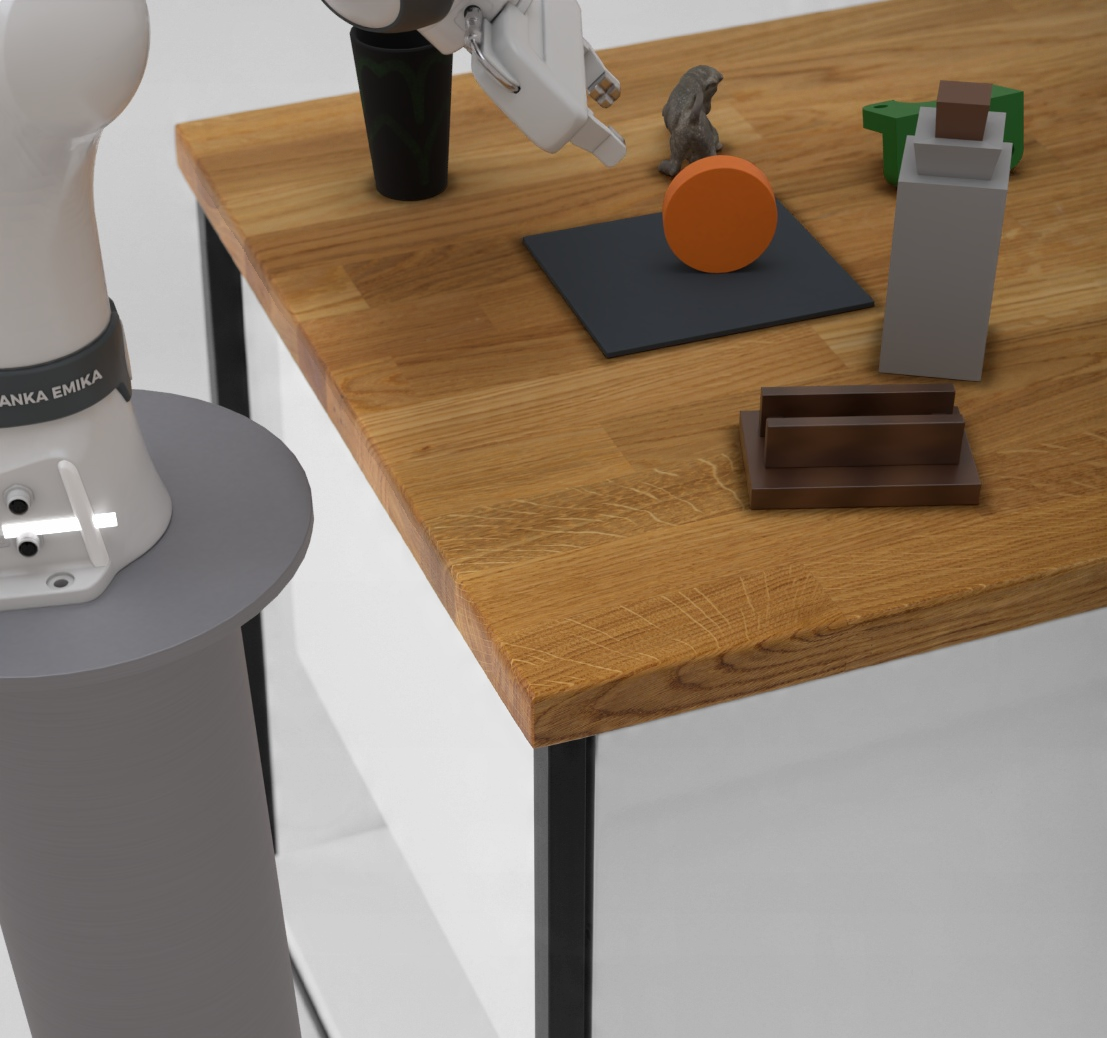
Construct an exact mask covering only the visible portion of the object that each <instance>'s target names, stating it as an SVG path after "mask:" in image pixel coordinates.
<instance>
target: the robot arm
mask: <svg viewBox="0 0 1107 1038" xmlns="http://www.w3.org/2000/svg"><path fill="white" fill-rule="evenodd" d="M320 1H321V2H322V3H323V5H325V7H326V8H328V9H329V11H330V12H332V13H333V14H334V15H335V16H337V17H338V18H339V19H340V20H342V21H344V22H345V23H347V24H348V25H350V26H352V27H353V26H354V27H357V28H359V29H362V30H366V31H371V32H379V33H400V32H407V31H412V30H417V31H419V32H420V33H421V34H422V35H423V36H424V37H425V38H426V39H427V40H428V41H429V42H430V43H431V44H432V45H433V46H434V47H435V48H437V49H438V50H439V51H440V52H441V53H442V54H445V55H449V54H452V53H453V54H455V53H456V52H458V51H460V50H461V49H463V48H464V49H465V50H466V51H467V52H468V53H469V54H470V57H471V58H470V69H471V72H472V75H473V76H472V77H473V78H474V80H475V81H476V82H477V84H478V85H479V87H480V88H481V90H482V91H483V92H484V94H485V95H486V96H487V97H488V98H489V99H490V100H491V102H492V103H493V104H494V105H496V107H498V109H499V110H500V111H501V112H502V113H503V114H504V115H505V116H506V117H507V118H508V119H509V120H510V122H512V123H513V124H514V126H516V128H518V129H519V130H520V131H521V132H522V133H523V135H525V136H526V138H528V140H529V141H531V142H532V144H534V145H535V146H536V147H537V148H539V149H540V150H542V151H544V152H546V153H548V154H552V155H554V154H557V153H558V152H560V150H561V149H563V148H564V147H565V146H566V145H567V144H568V143H570V144H572V145H573V146H575V147H578V148H580V149H582V150H584V151H586V152H588V153H590V154H592V155H593V156H594V157H596V158H597V160H598V161H599V162H600V163H602V164H603V165H604V166H605V167H607V168H614V167H615V166H616V165H618V163H620V161H622V160H623V159H624V158H625V157H626V155H627V151H628V149H627V144H626V139H625V138H624V137H623V136H622V135H621V134H620V133H618V131H617V130H616V129H615V128H614V127H613V126H612V125H610V124H609V125H608V126H607V125H606V124H604V123H603V122H602V121H601V120H599V118H598V117H596V116H595V113H594V111H593V110H592V109H591V108H590V107H588V96H589V97H590V98H591V99H593V101H595V102H596V103H597V104H598V105H599V106H600V107H601V108H603V109H609V108H610V107H611V106H612V105H613V104H614V103H615V102H616V101H617V100H619V98H620V97H621V93H622V92H621V91H622V89H621V83H620V80H619V79H617V77H615V75H614V74H612V72H610V70H608V69H607V67H606V66H605V64H604V62H603V61H602V60H601V59H600V57H599V55H598V54H597V52H596V51H595V50H594V48H593V47H592V45H591V44H590V42H589V41H588V40H587V39H586V38H585V37H584V34H583V20H582V8H581V5H580V4H579V2H578V0H320ZM149 12H150V11H149V8H148V4H147V0H0V612H1V611H11V610H22V609H32V608H42V607H53V606H63V605H73V604H82V603H87V602H90V601H93V600H95V599H96V598H98V597H99V596H100V595H101V594H102V593H103V592H104V591H105V590H106V588H107V587H108V586H109V584H110V583H111V581H112V580H113V578H114V577H115V575H116V574H117V573H118V572H119V571H120V570H121V569H123V568H124V567H125V566H127V565H128V564H130V563H131V562H133V561H134V560H136V559H137V558H139V557H140V556H142V555H143V554H144V553H146V552H147V551H148V550H149V549H150V548H151V547H152V546H153V545H155V544H156V542H157V541H158V540H159V539H160V538H161V537H162V535H163V534H164V532H165V531H166V529H167V527H168V525H169V523H170V520H171V516H172V501H171V497H170V495H169V492H168V491H167V489H166V487H165V485H164V484H163V482H162V480H161V478H160V476H159V474H158V472H157V470H156V469H155V466H154V464H153V462H152V459H151V457H150V455H149V452H148V450H147V447H146V444H145V442H144V439H143V436H142V434H141V431H140V428H139V425H138V422H137V418H136V415H135V412H134V409H133V406H132V402H131V397H132V389H133V386H132V381H133V373H132V366H131V360H130V354H129V349H128V344H127V343H128V342H127V338H126V334H125V333H126V332H125V328H124V324H123V321H122V319H121V318H120V315H119V313H118V310H117V308H116V307H117V306H116V304H115V302H114V300H113V299H112V298H111V297H110V296H109V292H108V286H107V280H106V273H105V267H104V260H103V255H102V254H103V253H102V247H101V242H100V236H99V228H98V222H97V217H96V207H95V194H94V192H95V191H94V190H95V189H94V188H95V187H94V181H95V166H96V160H97V155H98V150H99V149H98V148H99V144H100V140H101V137H102V133H103V131H104V129H105V128H107V127H108V126H109V125H111V124H112V123H113V122H114V121H116V119H118V118H119V116H120V115H121V114H123V112H124V111H125V110H126V109H127V107H128V106H129V104H130V103H131V102H132V100H133V98H134V97H135V95H136V93H137V92H138V89H139V87H140V85H141V83H142V80H143V78H144V75H145V72H146V69H147V65H148V61H149V56H150V48H151V33H152V32H151V20H150V13H149ZM587 95H588V96H587Z"/></svg>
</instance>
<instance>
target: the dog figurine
mask: <svg viewBox="0 0 1107 1038" xmlns="http://www.w3.org/2000/svg"><path fill="white" fill-rule="evenodd" d="M723 80H724V75H723V73H721V72H719V71H718V69H717V68H715V67H713V66H710V65H705V64H700V65H696V66H693V67H691V68H690V69H688V70H687V71H686V72H685V73H683V75H682V76H681V77H680V78H679V82H678V83H677V84H675V86H674V88H673V89H672V90H671V92H670V94H669V96H668V98H667V101H666V103H665V104H664V105H663V107H662V109H661V110H662V111H661V116H662V117H663V122H664V125H665V128H666V129H667V131H668V132H669V135H670V137H669V140H668V142H669V149H670V150H669V151H670V157H669V159H663V160H662V161H661V162H659V164H658V166H657V170H658V171H659V172H661V173H664V174H665V175H666V176H668V175H669V176H671V177H674V176H677V175H678V173H679V172H680V171H681V168H682V165H683V163H684V162H685V161H687V162H688V165H690V164H691V163H693V162H695V161H697V160H700V159H703V158H706V157H710V156H717V155H718V153H717V151H720V150H721V149H722V148H723V144H722V143H721V142H720V139H719V138H720V136H719V132H718V130H717V128H716V127H715V126H714V125H713V124H712V122H711V121H710V119H709V117H708V116H707V115H709V114H710V112H711V111H712V98H713V97H714V95H715V94H717V92H718V85H719V84H720V83H721V82H722V81H723Z"/></svg>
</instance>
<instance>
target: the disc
mask: <svg viewBox="0 0 1107 1038" xmlns="http://www.w3.org/2000/svg"><path fill="white" fill-rule="evenodd" d="M774 196H775V194H774V190H773V187H772V184H771V183H770V181H769V179H768V178H767V176H766V174H764V172H763V171H762V170H761V169H759V168H758V167H757V166H756V165H755V164H753V163H752V162H750V161H748V160H746V159H744V158H741V157H738V156H733V155H728V154H727V155H725V154H717V156H710V157H706V158H703V159H700V160H697V161H695V162H693V163H691V164H688V165H687V166H685V167H684V168H683V169H681V170H679V172H678V173H677V174H676V175H675V177H673V179H672V180H671V182H670V183H669V186H668V187H667V189H666V191H665V193H664V197H663V201H662V206H661V207H662V209H661V212H662V216H663V225H664V232H665V237H666V240H667V242H668V244H669V246H670V248H671V250H672V251H673V253H674V254H675V255H676V256H677V257H678V258H679V259H680V260H681V261H682V262H684V263H685V264H687V265H688V266H690V267H692V268H694V269H696V270H699V271H703V272H708V273H727V272H732V271H735V270H738V269H741V268H743V267H745V266H747V265H749V264H750V263H752V262H753V261H755V260H756V259H757V258H758V257H759V256H760V255H761V254H762V253H763V252H764V251H765V250H766V249H767V247H768V246H769V244H770V242H771V241H772V238H773V236H774V234H775V230H776V226H777V207H776V202H775V197H776V196H775V197H774Z"/></svg>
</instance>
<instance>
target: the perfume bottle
mask: <svg viewBox="0 0 1107 1038" xmlns="http://www.w3.org/2000/svg"><path fill="white" fill-rule="evenodd" d="M992 84H993V83H988V82H975V81H974V82H973V81H959V80H945V79H940V80H939V85H938V91H937V96H936V100H937V101H936V100H935V101H936V108H933V107H920V111H919V117H918V122H917V128H916V133H915V136H911V135H907V138H906V143H905V149H904V154H903V159H902V164H901V169H900V175H899V180H898V187H896V188H897V190H896V198H895V207H894V208H895V210H894V218H893V228H892V237H891V238H892V239H891V249H890V255H889V256H890V258H889V267H888V274H887V275H888V277H887V285H886V296H885V304H884V305H885V306H884V314H883V315H884V316H883V324H882V333H881V334H882V335H881V345H880V355H879V363H878V364H879V365H878V373H883V374H892V375H893V374H895V375H905V376H915V377H927V378H937V379H948V380H949V379H950V380H960V381H970V382H981V381H982V374H983V366H984V360H985V353H986V352H985V351H986V345H987V338H988V333H989V332H988V331H989V326H990V325H989V324H990V318H991V317H990V316H991V309H992V303H993V295H994V289H995V282H996V274H997V267H998V260H999V255H1000V247H1001V239H1002V233H1003V226H1004V218H1005V211H1006V206H1007V205H1006V204H1007V197H1008V191H1009V180H1010V173H1011V172H1010V171H1011V169H1010V163H1011V154H1012V144H1013V143H1007V142H1003V136H1004V127H1005V118H1006V113H1004V112H990V111H989V107H990V100H991V92H992Z"/></svg>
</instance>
